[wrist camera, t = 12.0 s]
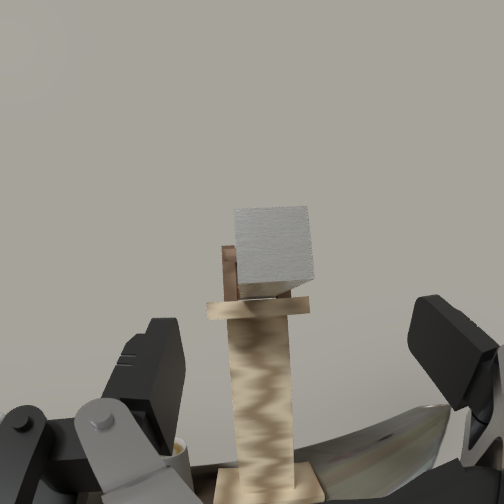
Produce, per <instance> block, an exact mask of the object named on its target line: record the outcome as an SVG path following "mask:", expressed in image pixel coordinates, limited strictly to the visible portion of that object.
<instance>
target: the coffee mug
mask: <svg viewBox="0 0 504 504" xmlns="http://www.w3.org/2000/svg"><path fill="white" fill-rule="evenodd" d="M160 457H161V458H162V459H163V461H164V462H165V463H166V464H167V466H169V465H170V466H171V467H172V468H173V469H174V470H175V471H176V472H177V473H178V475H179V476H180V477H181V478H182V479H183V481H184V482H185V483H186V484H187V485H188V487H189V488H190V489H191V490H192V491H193V492H194V487H193V481H192V475H191V469H190V463H189V457H188V450H187V445H186V443H185V441H183V440H182V439H180V438H177V437H175V440H174V447H173V453H172V456H160ZM194 494H195V492H194Z"/></svg>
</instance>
